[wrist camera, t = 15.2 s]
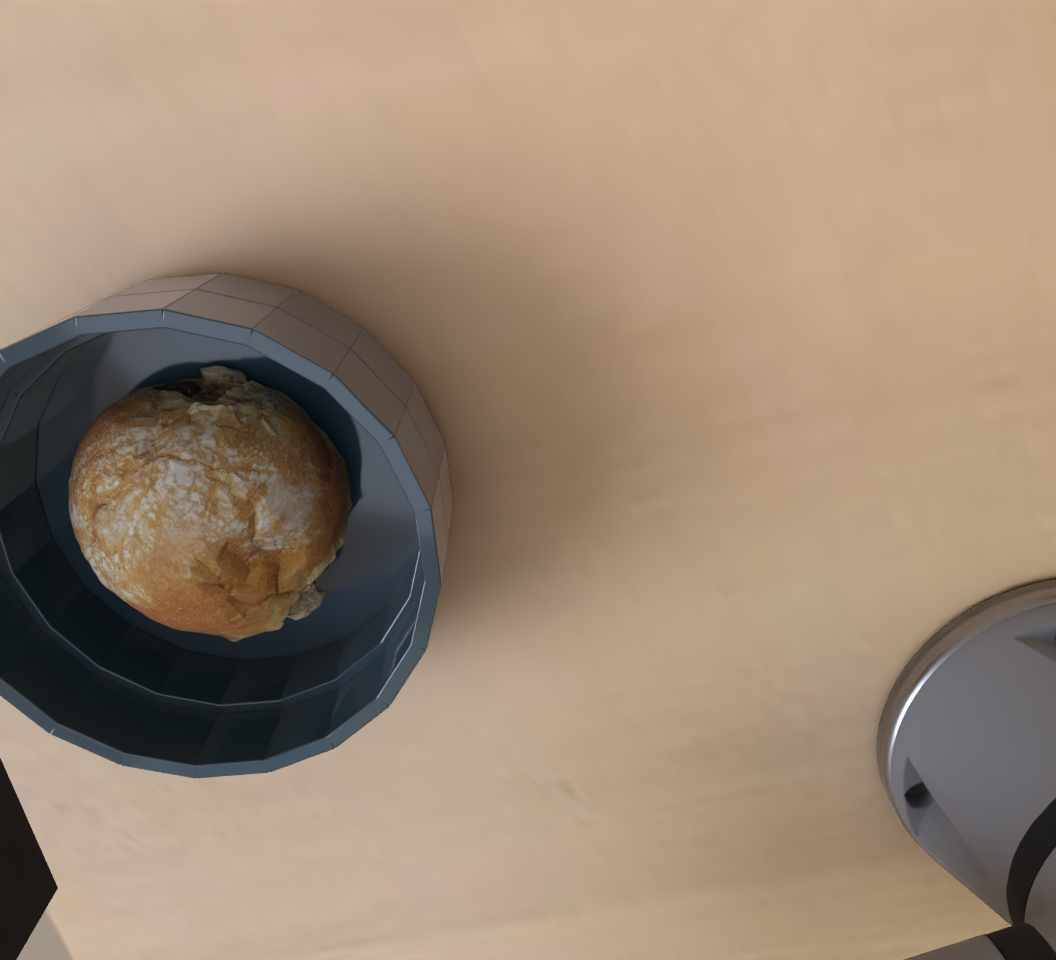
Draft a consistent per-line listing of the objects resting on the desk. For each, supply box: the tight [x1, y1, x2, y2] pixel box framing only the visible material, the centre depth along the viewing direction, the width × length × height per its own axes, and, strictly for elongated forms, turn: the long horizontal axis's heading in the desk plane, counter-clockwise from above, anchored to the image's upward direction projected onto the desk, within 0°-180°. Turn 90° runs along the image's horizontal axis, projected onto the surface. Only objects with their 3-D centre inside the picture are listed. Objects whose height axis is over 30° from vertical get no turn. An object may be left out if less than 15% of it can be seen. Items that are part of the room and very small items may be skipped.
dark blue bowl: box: [0, 273, 453, 778], centre depth 35 cm, size 17×17×7 cm
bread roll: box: [69, 366, 353, 642], centre depth 36 cm, size 10×10×8 cm
